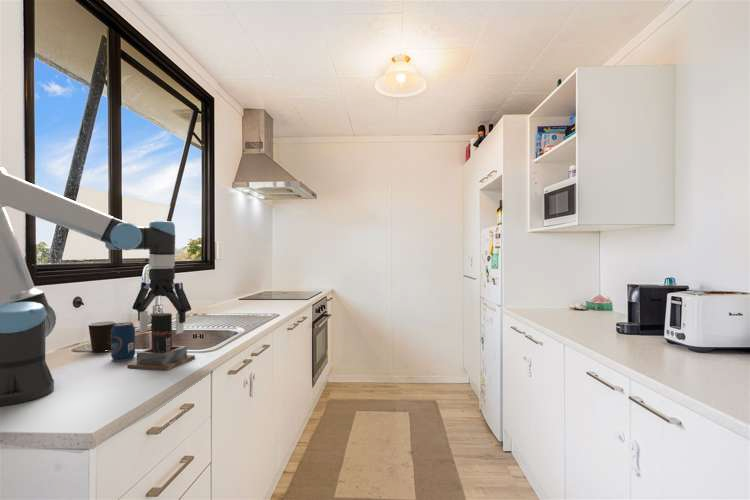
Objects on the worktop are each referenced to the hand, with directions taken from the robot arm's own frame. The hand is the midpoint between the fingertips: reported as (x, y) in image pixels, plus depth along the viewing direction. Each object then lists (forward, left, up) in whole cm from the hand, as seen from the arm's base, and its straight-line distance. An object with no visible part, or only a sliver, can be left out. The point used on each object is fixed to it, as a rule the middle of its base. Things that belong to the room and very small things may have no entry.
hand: (161, 332), depth 132 cm
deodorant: (0, 0, -9) cm, 9 cm away
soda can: (+2, +17, -10) cm, 20 cm away
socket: (0, 0, -10) cm, 10 cm away
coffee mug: (+12, +34, -10) cm, 37 cm away
